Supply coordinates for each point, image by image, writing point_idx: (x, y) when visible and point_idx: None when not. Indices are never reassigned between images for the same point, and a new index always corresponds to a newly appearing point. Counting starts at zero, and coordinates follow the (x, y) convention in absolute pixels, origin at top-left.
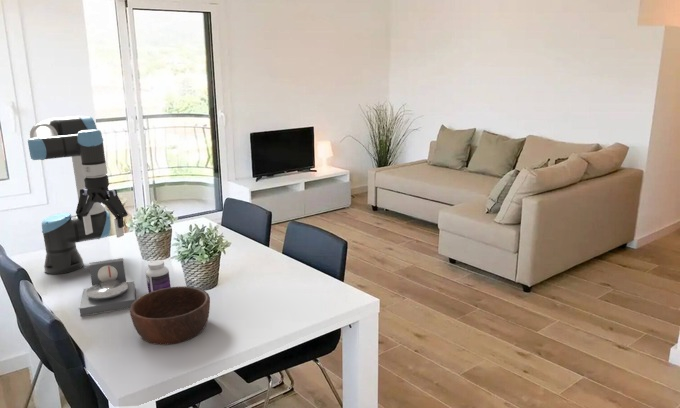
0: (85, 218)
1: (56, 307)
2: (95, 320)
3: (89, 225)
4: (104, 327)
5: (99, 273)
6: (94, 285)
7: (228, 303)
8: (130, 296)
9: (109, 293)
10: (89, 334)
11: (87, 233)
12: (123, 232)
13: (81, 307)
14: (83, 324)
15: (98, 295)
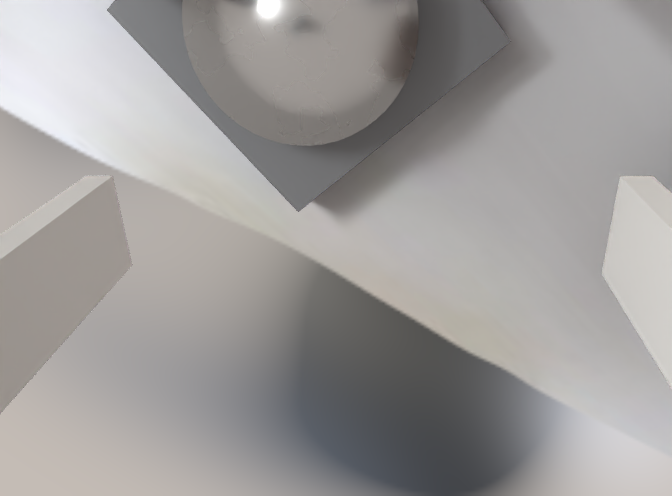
0: (2, 392)
1: (119, 157)
2: (400, 207)
3: (66, 263)
4: (487, 245)
5: None
6: (189, 21)
7: None
8: (461, 10)
9: (370, 91)
10: (465, 303)
11: (124, 264)
12: (668, 191)
13: (299, 200)
14: (377, 248)
15: (329, 132)
